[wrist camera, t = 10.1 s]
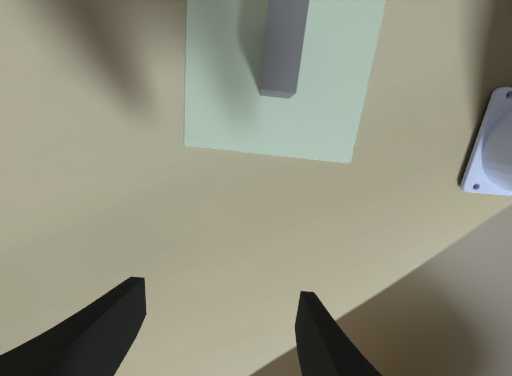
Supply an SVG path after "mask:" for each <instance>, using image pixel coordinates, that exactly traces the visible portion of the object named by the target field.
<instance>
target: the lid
mask: <svg viewBox="0 0 512 376" xmlns="http://www.w3.org/2000/svg"><path fill="white" fill-rule="evenodd" d="M385 4H386V0H187V17H186V68H185V120H184V146H193V147H202V148H211V149H220V150H229V151H239V152H248V153H257V154H266V155H275V156H285V157H294V158H303V159H312V160H321V161H331V162H340V163H349V164H350V163H351V158H352V154H353V149H354V145H355V140H356V136H357V131H358V126H359V122H360V117H361V113H362V108H363V104H364V99H365V95H366V90H367V86H368V81H369V77H370V72H371V68H372V63H373V59H374V54H375V49H376V45H377V40H378V36H379V31H380V27H381V22H382V18H383V13H384V9H385Z"/></svg>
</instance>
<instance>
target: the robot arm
mask: <svg viewBox="0 0 512 376" xmlns="http://www.w3.org/2000/svg"><path fill="white" fill-rule="evenodd" d="M507 93H508V97H506V94H507ZM474 185H475V187H474V188H473V186H474ZM460 187H461V189H462V190H463V191H466V192H475V193H486V194H497V195H508V196H512V88H511V87H501V88H497V89H495V90H494V91H493V93H492V95H491V98H490V101H489V104H488V107H487V110H486V113H485V116H484V119H483V121H482V124H481V127H480V130H479V133H478V136H477V139H476V142H475V145H474V147H473V150H472V153H471V156H470V159H469V162H468V165H467V168H466V171H465V173H464V176H463V179H462V182H461V186H460ZM145 316H146V298H145V279H144V278H141V277H130V278H128V279H127V280H125V281H124V282H122V283H121V284H119V285H118V286H116V287H115V288H113V289H112V290H110V291H109V292H108V293H106V294H105V295H103V296H102V297H100V298H99V299H97V300H96V301H94V302H93V303H91V304H90V305H88V306H87V307H85V308H84V309H82V310H80V311H79V312H77V313H76V314H74V315H72V316H71V317H69V318H67V319H66V320H64V321H63V322H61V323H59V324H58V325H56V326H54V327H53V328H51V329H49V330H48V331H46V332H44V333H42V334H41V335H39V336H37V337H35V338H33V339H31V340H29V341H28V342H26V343H24V344H22V345H20V346H18V347H16V348H14V349H12V350H10V351H8V352H6V353H4V354H2V355H0V376H114V374H115V373H116V371H117V369H118V368H119V366H120V364H121V362H122V361H123V359H124V357H125V356H126V354H127V352H128V350H129V349H130V347H131V345H132V344H133V342H134V340H135V338H136V336H137V334H138V332H139V330H140V328H141V325H142V323H143V321H144V318H145ZM295 334H296V344H297V351H298V357H299V362H300V366H301V372H302V376H382V375H381V374H380V373H379V372H378V371H377V370H376V369H375V368H374V367H373V366H372V365H371V364H370V363H369V362H368V360H367V359H366V358H365V357H364V356H363V355H362V354H361V353H360V351H359V350H358V349H357V348H356V347H355V346H354V344H353V343H352V342H351V341H350V340H349V338H348V337H347V336H346V335H345V333H344V332H343V331H342V330H341V328H340V327H339V326H338V325H337V323H336V322H335V320H334V319H333V318H332V316H331V315H330V314H329V312H328V311H327V310H326V308H325V307H324V305H323V304H322V303H321V301H320V300H319V298H318V297H317V295H316V294H315V293H314V292H305V291H301V293H300V299H299V305H298V311H297V316H296V322H295Z"/></svg>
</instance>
